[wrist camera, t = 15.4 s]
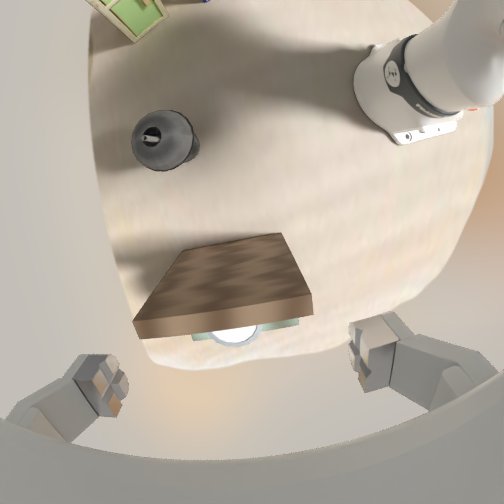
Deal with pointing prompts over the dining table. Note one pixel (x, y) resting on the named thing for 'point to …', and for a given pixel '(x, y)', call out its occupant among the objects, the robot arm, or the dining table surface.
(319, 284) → the dining table surface
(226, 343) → the white cup
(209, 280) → the wall shelf
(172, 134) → the beverage cup
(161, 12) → the toy refrigerator
